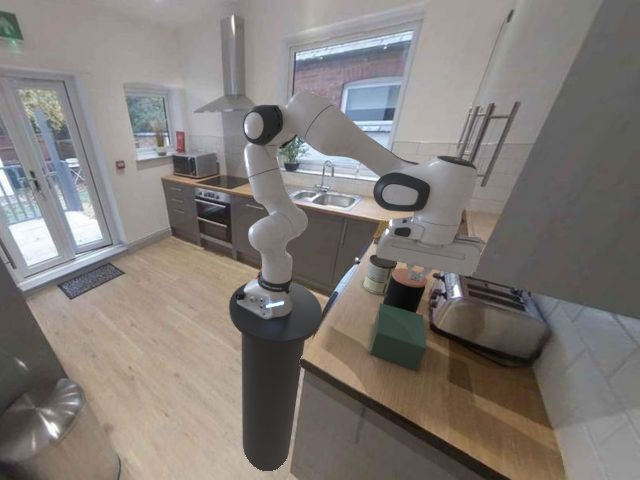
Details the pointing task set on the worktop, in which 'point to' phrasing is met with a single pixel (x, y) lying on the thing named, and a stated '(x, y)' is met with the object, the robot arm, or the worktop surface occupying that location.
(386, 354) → the chest
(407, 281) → the coffee jar
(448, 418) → the worktop surface
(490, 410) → the worktop surface
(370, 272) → the coffee can
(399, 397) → the worktop surface
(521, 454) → the worktop surface
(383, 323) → the green flat square panel
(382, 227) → the small cardboard box
